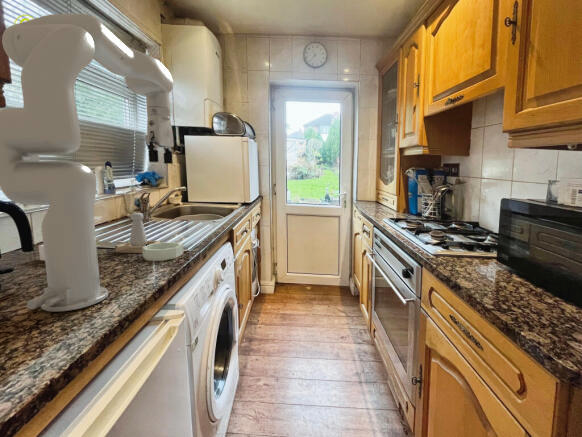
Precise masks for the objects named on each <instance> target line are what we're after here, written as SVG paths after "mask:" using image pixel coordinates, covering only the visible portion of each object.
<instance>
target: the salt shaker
mask: <svg viewBox="0 0 582 437" xmlns="http://www.w3.org/2000/svg"><path fill="white" fill-rule="evenodd" d="M129 218H130V220H132V224H131V230H130V236H129V242H130V244H131V246H132V247H144V246H146V244H147V241H148V239H147V234H146V229H145V226H144V222H143V220H144V214H143V213H141V212H132V213H130V216H129Z"/></svg>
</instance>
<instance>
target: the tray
mask: <svg viewBox="0 0 582 437" xmlns="http://www.w3.org/2000/svg"><path fill="white" fill-rule="evenodd" d="M155 243H162V241H161V240H147V244H149V245H150V244H155ZM114 251H115V253H130V254H132V253H133V254H134V253H135V254H136V253H137V254H138V253H139V254H143V252H142V247H131V244H130V241H129V242H125V243H123V244H122V243H121V244H118V245H116V246H114Z"/></svg>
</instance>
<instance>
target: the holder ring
mask: <svg viewBox="0 0 582 437" xmlns="http://www.w3.org/2000/svg"><path fill="white" fill-rule="evenodd" d="M142 252H143V253H142V257H143V258H144V259H145V261H150V262H151V261H153V262H155V261H156V262H157V261H158V262H159V261H160V262H162V261H167V260H172V259H177V258H179V257H180V256H181V255H183V254H184V244H182V243H180V242H170V241H169V242H166V241H165V242H161V243H155V244H150V245H147V246H144V247H142Z"/></svg>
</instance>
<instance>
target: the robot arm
mask: <svg viewBox="0 0 582 437" xmlns="http://www.w3.org/2000/svg"><path fill="white" fill-rule="evenodd" d="M1 42H2V46H3V50H4V53H6V55H7V56H8V59H10V60H11V61H12V62H13V63H14V64H16V65H17V66H18V67H20V68H21V74H20V84H21V92H22V99H23V100H22V101H23V107H8V108H3V109H0V189H1V192H2V193H3V194H4V196H6V198H7V199H9V200H10V201H11V202H13V203H16V204H19V205H24V206H25V205H26V206H27V205H29V206H31V205H33V206H39V205H40V206H42V205H43V206H48V208H47V211H46V213H45V214H44V217H43V218H42V222H41V237H42V245H43V246H44V255H45V260H44V262H45V271H46V280H47V281H46V283H47V287H45V288H43V293H42V294H41V295H40V296H37V297H35V298H32V299H29V300H28V301H27V303H26V306H27V308H28V309H29V310H35V309H37V308H39V307H40V309H42V310H43V311H46V312H52V313H53V312H57V313H58V312H67V311H73V310H74V311H75V310H80V309H83V308H87V307H89V306H90V307H91V306H93V305H95V304H98V303H100V302H102V301H104V300H105V299H106V298H108V296H109V290H108V288H106V287H104V286H101V282H100V271H99V270H100V269H99V259H98V248H97V247H98V246H97V239H96V238H97V236H96V235H97V234H96V225H95V202H96V194H97V187H98V186H97V178H96V176H95V173H94V171H92V169H91V168H90V167H89V166H87V165H85V164H83V163H80V162H76V161H71V160H44V161H43V160H42V161H40V155H42V156H43V155H48V156H49V155H65V154H72V153H74V152H77V151H78V150H79V148H80V147H81V143H82V136H81V128H80V120H79V116H78V115H79V114H78V109H77V102H76V97H75V96H76V95H75V87H76V86H75V85H76V80H77V78H78V76H79V75H80V73H81V72H82V71H83V69H85V68H86V67H88V66H90V64H91V63H92V62H93V61H95V62H96V63H98V64H99V65H100V66H102V67H103V68H105V69H106V70H107V71H109V73H112V74H115V75H117V76H121V77H124V79H125V84H126V85H127V88H128V89H129V90H130V91H131V92H132V93H134V94H137V95H141V96H144V97H145V99H146V113H147V115H146V116H147V117H146V118H147V121H146V122H147V123H146V133H147V134H145V135H144V140H145V145H146V147H147V151H148V161H149V163H158V162H159V150H158V148H162V150H163V151H164V152H163V164H165V165H166V164H169V165H171V164H173V160H174V159H173V153H174V151H173V150H174V144H175V143H174V133H173V126H172V122H171V108H170V92H172V91H173V89H174V80H173V77H172V74H171V72H170V71H169V70H168V68H166V67H165V65H164V64H163V63H162V62H160V60H158V59H157V58H155V57H154V56H151V55H148V54H146V53H143V52H142V51H139V50H137V49H134V48H133V47H129V46H127V45H126V44H125V43H124V42H123V41H122V40H121V39H120V38H118V37H117V36H116V34H114V33H113V32H112V31H111V30H110V29H109V28H108V27H107V26H106V25H105V24H104V23H102V21H100V19H98V18H96V17H95V16H93V15H90V14H88V13H54V14H53V13H51V14H45V15H43V16H39V17H36V18H33V19H29V20H26V21H23V22H20V23H16V24H13V25H10V26H8V27H7V28H6V29H5V30H4V31H3V34H2V36H1Z"/></svg>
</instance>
